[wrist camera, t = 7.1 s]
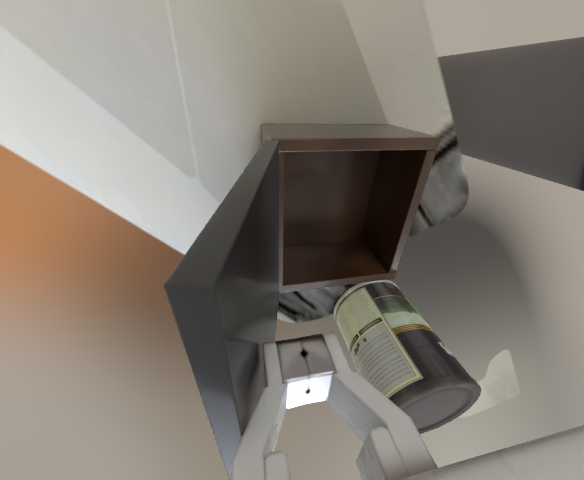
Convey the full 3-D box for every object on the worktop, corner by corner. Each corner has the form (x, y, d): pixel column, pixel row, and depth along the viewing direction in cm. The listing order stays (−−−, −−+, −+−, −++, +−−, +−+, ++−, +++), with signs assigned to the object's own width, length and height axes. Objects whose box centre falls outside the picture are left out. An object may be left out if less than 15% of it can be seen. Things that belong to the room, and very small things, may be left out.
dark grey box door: (214, 288, 4) (161, 285, 4) (256, 506, 10) (237, 505, 10) (279, 140, 14) (265, 139, 14) (279, 297, 21) (269, 297, 21)
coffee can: (397, 266, 32) (489, 369, 21) (401, 313, 38) (475, 413, 26) (324, 295, 32) (376, 413, 21) (340, 337, 38) (387, 447, 27)
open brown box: (388, 124, 22) (441, 137, 17) (363, 241, 29) (394, 279, 23) (260, 123, 20) (271, 138, 14) (265, 249, 27) (273, 293, 21)
